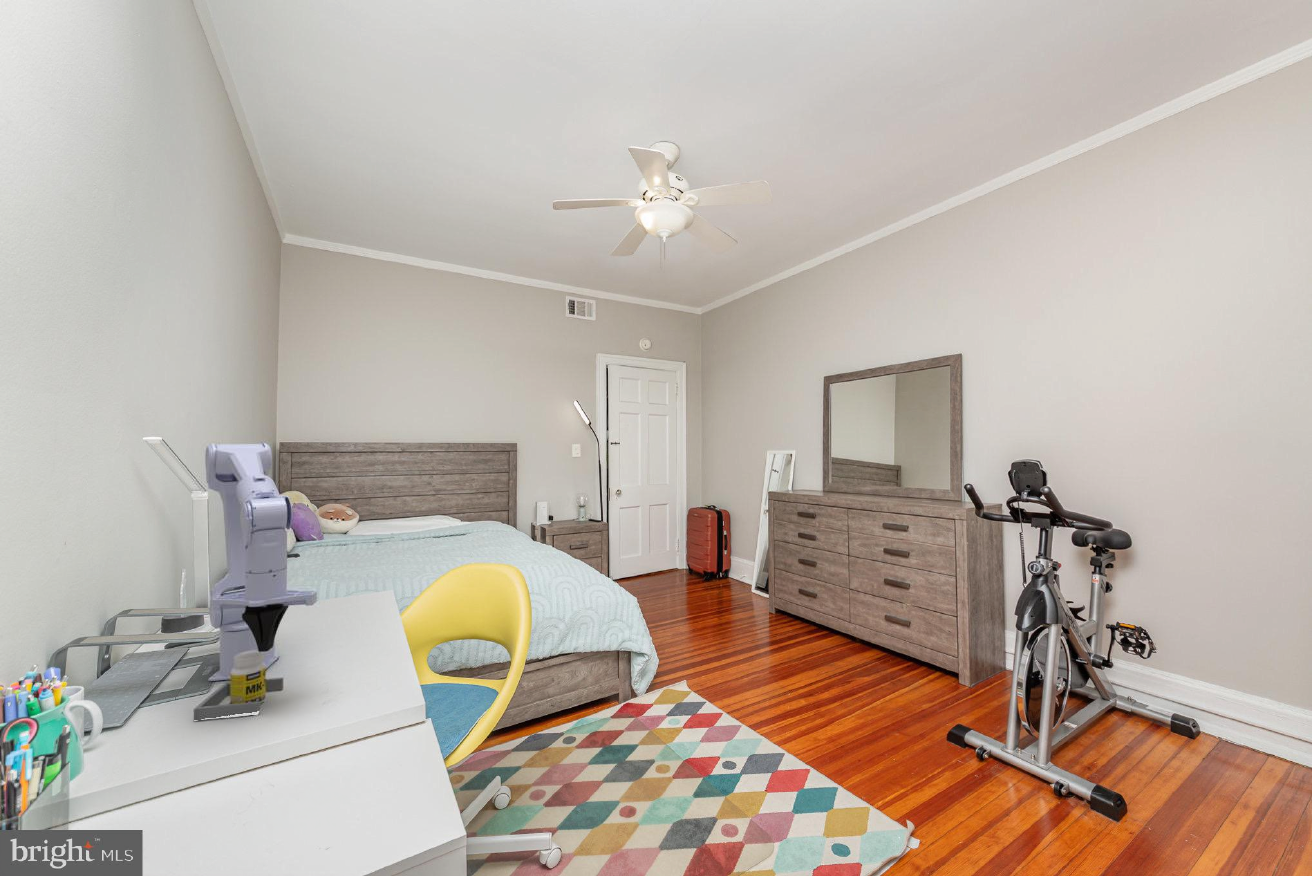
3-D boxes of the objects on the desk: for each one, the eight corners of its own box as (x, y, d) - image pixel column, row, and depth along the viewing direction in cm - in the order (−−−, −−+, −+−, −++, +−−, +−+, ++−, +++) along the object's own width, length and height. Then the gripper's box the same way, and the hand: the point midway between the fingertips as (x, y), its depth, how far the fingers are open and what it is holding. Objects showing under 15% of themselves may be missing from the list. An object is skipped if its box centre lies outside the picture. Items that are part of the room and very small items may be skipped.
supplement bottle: (246, 712, 87) (246, 661, 87) (222, 709, 88) (222, 659, 88) (272, 698, 92) (272, 649, 92) (249, 695, 93) (250, 647, 92)
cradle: (225, 693, 93) (225, 682, 93) (283, 688, 95) (283, 677, 95) (193, 721, 84) (193, 709, 84) (258, 715, 86) (258, 703, 86)
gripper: (201, 577, 84) (201, 663, 84) (305, 573, 87) (305, 655, 88) (225, 566, 91) (225, 645, 91) (321, 562, 94) (320, 638, 94)
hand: (265, 649), depth 90 cm, fingers closed
